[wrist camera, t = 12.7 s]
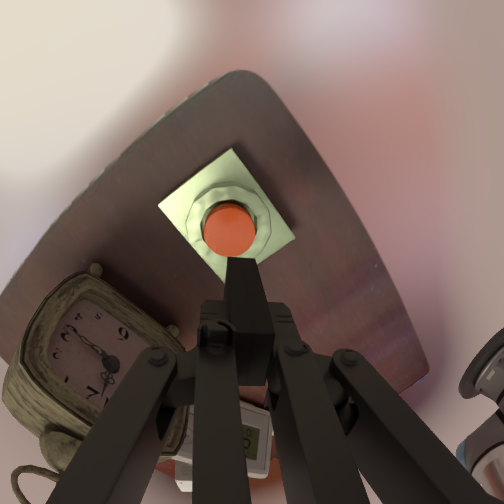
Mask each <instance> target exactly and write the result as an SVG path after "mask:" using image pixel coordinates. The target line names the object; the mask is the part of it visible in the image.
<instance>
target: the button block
mask: <svg viewBox="0 0 504 504" xmlns="http://www.w3.org/2000/svg"><path fill="white" fill-rule="evenodd" d="M224 203H234V204H238V205H240V206H242V207H243V208H245V209H246V210H247V211H248V212H249V214H250V215H251V218H252V220H253V223H254V226H255V238H254V241H253V243H252V245H251V246H250V248H249V249H248V250H247V251H245V252H244V253H242V254H240V255H238V256H234V257H243V258H255V260H256V263H257V265H258V264H259V263H261V262H262V261H263V260H265V259H266V258H268V257H269V256H271V255H272V254H274V253H275V252H276V251H278V250H279V249H281V248H282V247H284V246H285V245H287V244H288V243H289V242H291V241H292V240H294V239H295V238H296V237H295V235H294V234H293V232H292V231H291V229H290V228H289V227H288V225H287V224H286V222H285V221H284V219H283V218H282V216H281V215H280V214H279V212H278V211H277V209H276V208H275V207H274V205H273V204H272V202H271V201H270V200H269V198H268V197H267V195H266V194H265V193H264V191H263V190H262V188H261V187H260V186H259V184H258V183H257V181H256V180H255V179H254V177H253V176H252V175H251V173H250V172H249V170H248V169H247V168H246V166H245V165H244V164H243V162H242V161H241V160H240V158H239V157H238V156H237V154H236V153H235V152H234V150H233V149H232V148H231V147H229V148H227V149H226V150H225V151H223V152H222V153H221V154H219V155H218V156H216V157H215V158H214V159H212V160H211V161H210V162H208V163H207V164H206V165H204V166H203V167H202V168H200V169H199V170H198V171H197V172H195V173H194V174H193V175H191V176H190V177H189V178H187V179H186V180H185V181H184V182H182V183H181V184H180V185H179V186H177V187H176V188H175V189H174V190H172V191H171V192H170V193H169V194H167V195H166V196H165V197H164V198H163V199H161V201H160V202H159V203H158V205H157V206H158V207H159V208H160V209H161V211H162V212H163V213H164V214H165V215H166V217H167V218H168V219H169V220H170V221H171V223H172V224H173V225H174V226H175V227H176V228H177V230H178V231H179V232H180V233H181V234H182V236H183V237H184V238H185V239H186V240H187V241H188V243H189V244H190V245H191V246H192V248H193V249H194V250H195V251H196V252H197V253H198V254H199V256H200V257H201V258H202V259H203V260H204V261H205V262H206V263H207V265H208V266H209V267H210V268H211V269H212V270H213V271H214V273H215V274H216V275H217V276H218V277H219V278H220V279H221V280H222V282H223V283H224V284H225V277H226V266H227V257H224V256H220V255H218V254H216V253H214V252H213V251H212V250H211V249H210V248H209V247H208V246H207V244H206V242H205V239H204V225H205V220H206V217H207V215H208V214H209V212H210V211H211V210H212V209H213V208H215V207H216V206H218V205H221V204H224Z"/></svg>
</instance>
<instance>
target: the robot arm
mask: <svg viewBox="0 0 504 504" xmlns="http://www.w3.org/2000/svg"><path fill="white" fill-rule="evenodd" d="M266 378H267V381H268V389H267V393H266V397H265V402H264V407H267V403H268V406H269V411H270V417H271V422H272V427H273V433H274V438H275V443H276V449H277V454H278V459H279V464H280V470H281V475H282V480H283V485H284V490H285V495H286V501H287V504H370V501H369V499H368V496H367V493H366V490H365V487H364V485H363V482H362V479H361V477H360V474H359V471H360V472H361V474H362V475H363V477H364V478H365V479H366V481H367V482H368V484H369V485H370V486H371V488H372V489H373V491H374V492H375V493H376V495H377V496H378V498H379V499H380V500H381V502H382V503H383V504H504V344H503V345H501V346H500V347H499V348H498V349H497V350H496V351H495V352H494V353H493V354H492V355H491V356H490V357H489V358H488V360H487V361H486V362H485V363H484V365H483V366H482V368H481V369H480V371H479V372H478V374H477V376H476V378H475V380H474V388H475V389H476V390H477V391H478V392H479V393H481V394H483V395H485V396H486V397H488V398H490V399H492V400H493V401H495V402H496V404H497V405H498V406H499V409H498V410H497V411H496V412H495V413H494V414H493V415H492V416H491V417H490V418H489V419H487V420H486V421H485V422H484V423H483V424H482V425H481V426H480V427H479V428H477V429H476V430H475V431H474V432H473V433H471V434H470V435H469V436H468V437H467V438H466V439H465V440H464V441H463V442H462V443H461V444H459V446H458V447H457V450H456V457H455V456H454V455H453V454H452V453H451V452H450V451H449V449H448V448H447V447H446V446H445V445H444V444H443V443H442V442H441V441H440V440H439V439H438V437H437V436H436V435H435V434H434V433H433V432H432V431H431V430H430V429H429V427H428V426H427V425H426V424H425V423H424V422H423V421H422V420H421V419H420V418H419V416H418V415H417V414H416V413H415V412H414V411H413V410H412V409H411V408H410V407H409V406H408V404H407V403H406V402H405V401H404V400H403V399H402V398H401V397H400V396H399V395H398V394H397V392H396V391H395V390H394V389H393V388H392V387H391V386H390V385H389V384H388V383H387V382H386V380H385V379H384V378H383V377H382V376H381V375H380V374H379V373H378V372H377V371H376V370H375V369H374V367H373V366H372V365H371V364H370V363H369V362H368V361H367V360H366V359H365V358H364V357H363V356H362V355H361V354H360V353H359V352H357V351H354V350H352V349H339V350H337V351H335V353H334V354H333V356H332V357H330V356H324V355H319V354H316V353H314V352H313V351H312V349H311V347H310V346H309V345H308V344H307V343H305V342H304V341H301V338H300V336H299V333H298V330H297V328H296V325H295V323H294V320H293V317H292V314H291V312H290V309H289V308H288V307H287V306H286V305H285V304H284V303H277V302H267V300H266V296H265V292H264V289H263V285H262V281H261V278H260V274H259V271H258V267H257V263H256V260H255V258H243V257H228V256H227V266H226V277H225V289H224V301H219V300H206V301H205V302H204V303H203V304H202V305H201V314H200V324H199V327H198V332H197V345H196V346H195V347H194V348H193V349H192V350H190V351H188V352H184V353H179V354H175V352H174V351H173V350H172V349H170V348H168V347H165V346H158V345H157V346H150V347H148V348H145V349H144V350H143V351H142V352H141V353H140V354H139V355H138V357H137V358H136V360H135V361H134V363H133V364H132V366H131V367H130V369H129V370H128V372H127V373H126V375H125V376H124V378H123V379H122V381H121V382H120V384H119V385H118V387H117V389H116V390H115V392H114V393H113V395H112V396H111V398H110V399H109V401H108V402H107V404H106V405H105V407H104V409H103V410H102V412H101V413H100V415H99V416H98V418H97V419H96V421H95V423H94V424H93V426H92V427H91V429H90V431H89V432H88V434H87V435H86V437H85V439H84V440H83V442H82V443H81V445H80V447H79V448H78V450H77V451H76V453H75V455H74V456H73V458H72V460H71V461H70V463H69V465H68V466H67V468H66V470H65V471H64V473H63V475H62V476H61V478H60V480H59V481H58V483H57V485H56V486H55V488H54V490H53V492H52V493H51V495H50V497H49V499H48V500H47V502H46V504H140V503H141V500H142V498H143V496H144V493H145V490H146V488H147V486H148V483H149V481H150V479H151V476H152V474H153V471H154V469H155V467H156V464H157V462H158V459H159V457H160V455H161V452H162V450H163V447H164V445H165V443H166V440H167V438H168V436H169V433H170V431H171V428H172V426H173V424H174V421H175V419H176V416H177V414H178V412H179V409H180V407H183V406H188V405H193V404H194V419H193V456H192V504H251V496H250V488H249V480H248V472H247V463H246V455H245V446H244V437H243V428H242V419H241V409H240V399H239V389H238V386H265V383H266ZM350 397H351V399H352V400H353V401H354V402H353V401H352V400H351V399H350ZM358 469H359V471H358ZM480 484H482V486H483V488H482V487H481V485H480Z"/></svg>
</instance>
